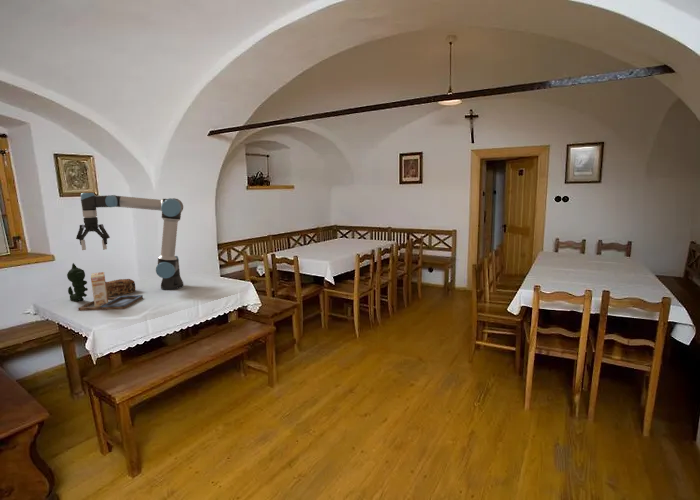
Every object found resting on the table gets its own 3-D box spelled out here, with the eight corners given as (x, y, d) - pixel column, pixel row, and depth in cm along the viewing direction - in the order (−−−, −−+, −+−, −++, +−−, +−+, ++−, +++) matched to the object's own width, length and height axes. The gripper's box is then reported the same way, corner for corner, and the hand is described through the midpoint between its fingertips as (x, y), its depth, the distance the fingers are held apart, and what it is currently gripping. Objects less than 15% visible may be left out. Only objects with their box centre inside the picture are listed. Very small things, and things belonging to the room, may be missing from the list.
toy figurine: (76, 304, 240) (71, 265, 236) (62, 300, 249) (56, 263, 245) (92, 300, 248) (87, 262, 244) (78, 296, 257) (73, 260, 253)
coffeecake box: (108, 306, 234) (104, 275, 231) (94, 309, 230) (90, 277, 227) (108, 301, 246) (104, 271, 243) (95, 303, 243) (91, 273, 240)
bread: (106, 298, 252) (104, 283, 251) (101, 295, 259) (99, 281, 258) (136, 292, 266) (135, 278, 265) (131, 289, 273) (129, 276, 272)
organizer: (143, 298, 250) (142, 295, 250) (124, 308, 228) (124, 305, 228) (100, 299, 249) (100, 296, 249) (78, 310, 227) (77, 307, 227)
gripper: (113, 216, 248) (117, 248, 252) (75, 217, 248) (79, 249, 252) (106, 217, 241) (110, 250, 244) (66, 217, 241) (71, 251, 244)
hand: (94, 249), depth 248 cm, fingers open, 13 cm apart
